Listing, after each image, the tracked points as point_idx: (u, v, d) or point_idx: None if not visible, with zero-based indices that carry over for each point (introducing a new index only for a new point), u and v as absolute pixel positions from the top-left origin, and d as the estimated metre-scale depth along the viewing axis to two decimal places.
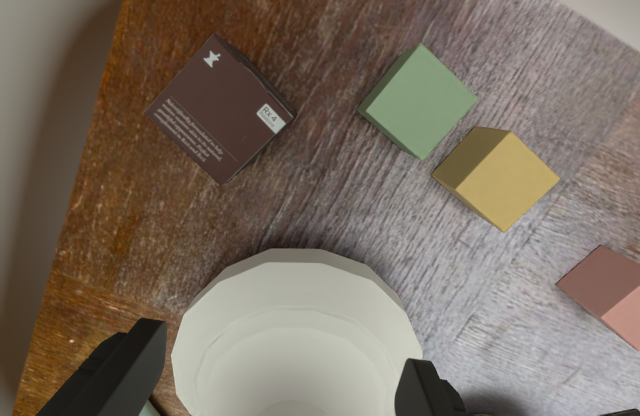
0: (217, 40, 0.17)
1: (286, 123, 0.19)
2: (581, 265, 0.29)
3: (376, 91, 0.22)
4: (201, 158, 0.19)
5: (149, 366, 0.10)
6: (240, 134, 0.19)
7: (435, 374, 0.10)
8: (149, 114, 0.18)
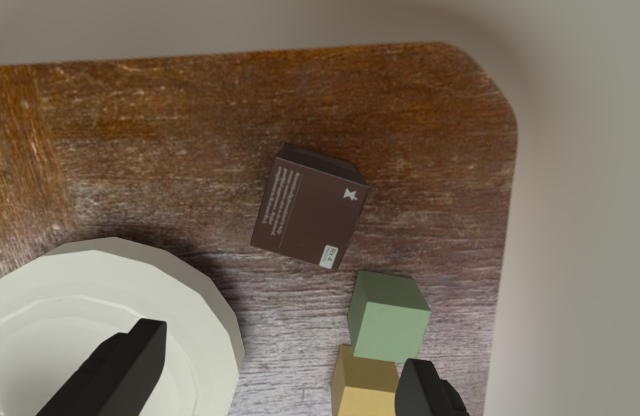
0: (366, 192, 0.20)
1: (330, 268, 0.21)
2: None
3: (382, 290, 0.27)
4: (264, 219, 0.20)
5: (150, 366, 0.10)
6: (303, 240, 0.21)
7: (435, 374, 0.10)
8: (277, 163, 0.19)
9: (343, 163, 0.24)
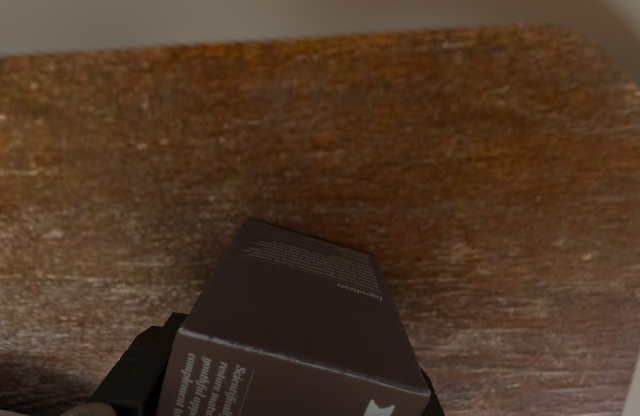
0: (421, 408, 0.08)
1: None
2: None
3: None
4: None
5: None
6: None
7: None
8: (182, 345, 0.07)
9: (355, 266, 0.12)
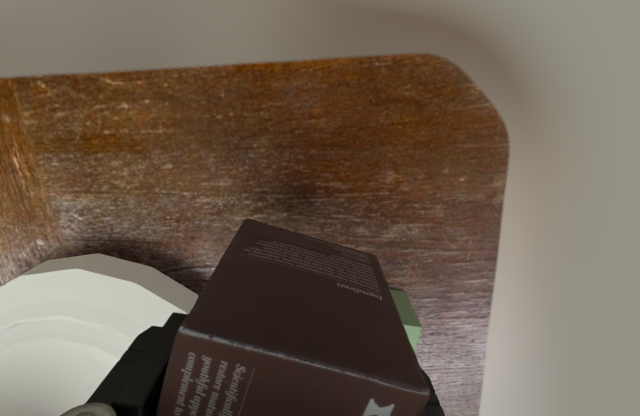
0: (421, 407, 0.08)
1: None
2: None
3: None
4: None
5: None
6: None
7: None
8: (182, 344, 0.07)
9: (355, 266, 0.12)
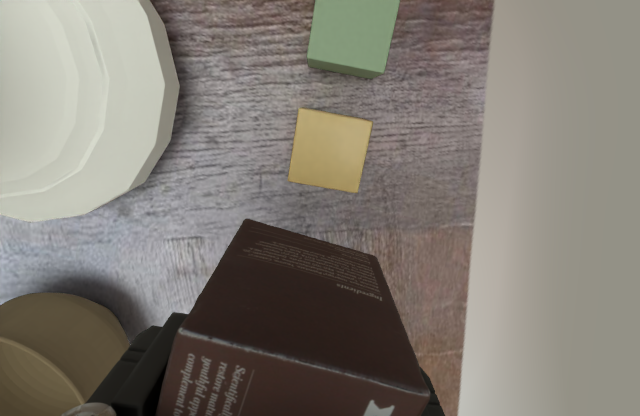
0: (421, 408, 0.08)
1: None
2: None
3: None
4: None
5: None
6: None
7: None
8: (182, 345, 0.07)
9: (355, 266, 0.12)
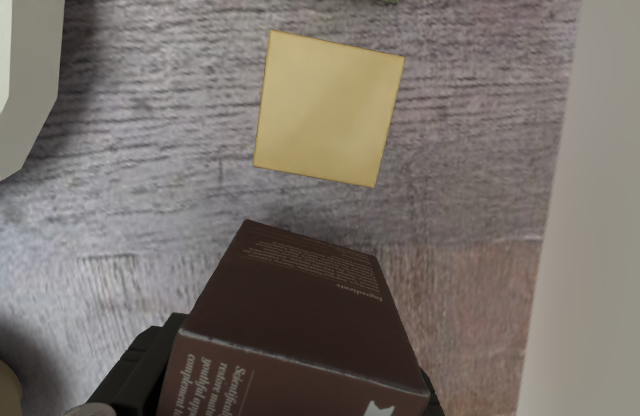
0: (421, 409, 0.08)
1: None
2: None
3: None
4: None
5: None
6: None
7: None
8: (182, 346, 0.07)
9: (355, 267, 0.12)
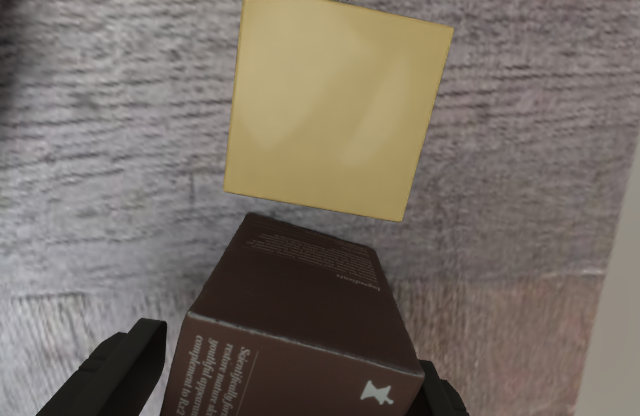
0: (416, 389, 0.08)
1: None
2: None
3: None
4: None
5: (150, 366, 0.10)
6: None
7: (435, 374, 0.10)
8: (190, 328, 0.07)
9: (354, 259, 0.13)
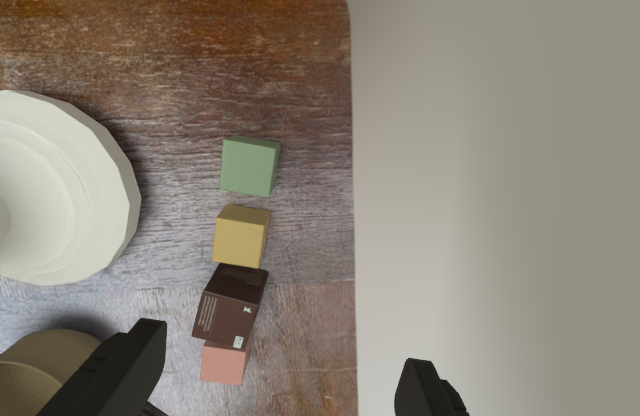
0: (256, 308, 0.34)
1: (240, 348, 0.36)
2: None
3: (244, 139, 0.34)
4: (199, 322, 0.35)
5: (150, 366, 0.10)
6: (222, 333, 0.35)
7: (435, 374, 0.10)
8: (204, 294, 0.34)
9: (255, 276, 0.39)
